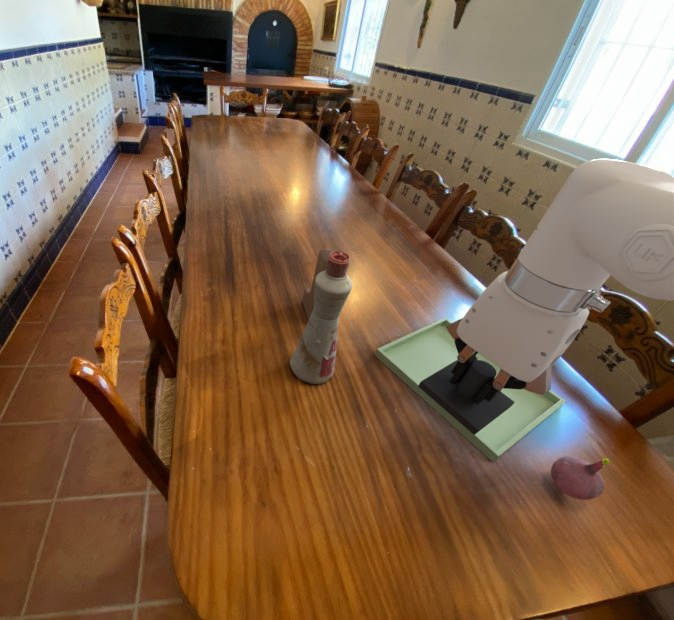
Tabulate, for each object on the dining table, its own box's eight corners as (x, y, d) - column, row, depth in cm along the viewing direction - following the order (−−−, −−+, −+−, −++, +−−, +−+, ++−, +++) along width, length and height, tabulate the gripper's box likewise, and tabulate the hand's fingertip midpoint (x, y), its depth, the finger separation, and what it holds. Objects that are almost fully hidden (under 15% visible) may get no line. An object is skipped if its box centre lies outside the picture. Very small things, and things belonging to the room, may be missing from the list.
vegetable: (569, 515, 55) (616, 486, 48) (530, 478, 59) (569, 447, 52) (591, 499, 57) (639, 469, 50) (552, 464, 61) (592, 432, 55)
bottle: (289, 351, 77) (312, 235, 59) (331, 356, 77) (367, 241, 59) (288, 383, 71) (314, 263, 53) (334, 389, 70) (376, 270, 52)
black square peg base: (510, 407, 50) (536, 379, 46) (474, 435, 47) (498, 407, 43) (454, 364, 56) (472, 336, 52) (417, 386, 52) (434, 357, 48)
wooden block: (301, 301, 91) (314, 238, 79) (318, 301, 91) (334, 239, 80) (308, 325, 84) (324, 260, 73) (327, 325, 85) (345, 261, 73)
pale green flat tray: (560, 407, 71) (566, 401, 69) (492, 462, 61) (498, 456, 59) (441, 323, 88) (445, 317, 87) (374, 355, 78) (376, 348, 77)
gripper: (653, 317, 35) (542, 422, 47) (494, 242, 45) (435, 343, 57) (623, 343, 32) (511, 449, 43) (459, 255, 42) (404, 360, 54)
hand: (469, 388), depth 50 cm, fingers closed on black square peg base, 3 cm apart
